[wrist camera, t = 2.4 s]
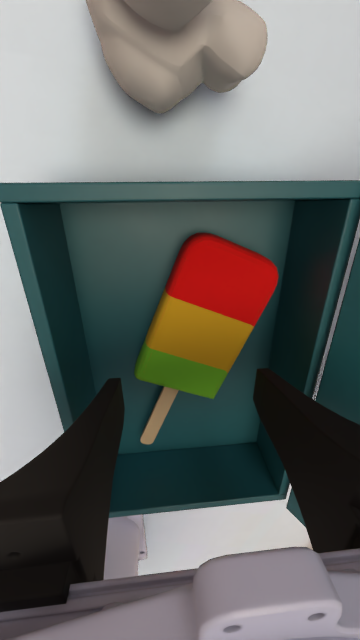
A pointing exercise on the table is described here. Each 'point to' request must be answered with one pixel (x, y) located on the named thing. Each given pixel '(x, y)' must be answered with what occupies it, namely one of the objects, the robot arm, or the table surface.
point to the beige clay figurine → (178, 46)
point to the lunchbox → (142, 301)
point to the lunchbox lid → (342, 363)
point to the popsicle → (202, 320)
